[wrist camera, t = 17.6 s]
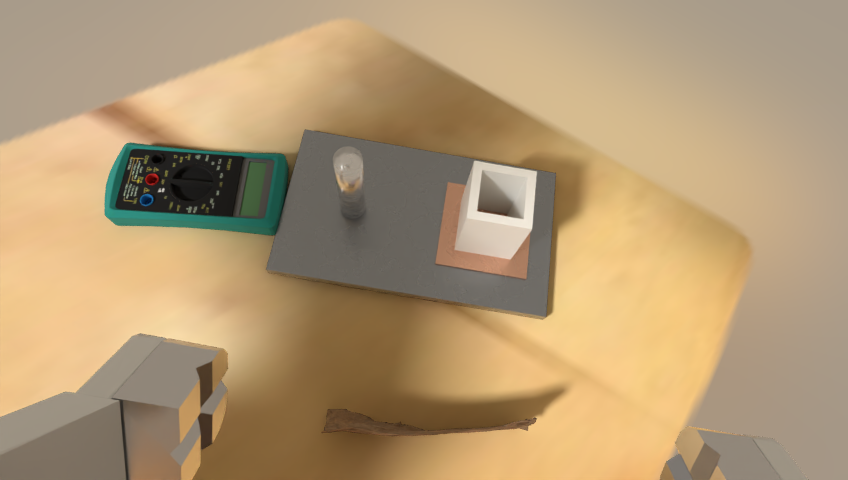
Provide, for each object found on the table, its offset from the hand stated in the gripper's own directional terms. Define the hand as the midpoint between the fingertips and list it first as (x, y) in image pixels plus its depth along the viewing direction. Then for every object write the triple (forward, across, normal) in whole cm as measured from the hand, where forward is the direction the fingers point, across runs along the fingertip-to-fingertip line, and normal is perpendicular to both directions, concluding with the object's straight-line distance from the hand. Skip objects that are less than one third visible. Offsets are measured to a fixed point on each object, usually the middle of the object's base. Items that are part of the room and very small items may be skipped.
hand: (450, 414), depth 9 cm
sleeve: (+36, -5, +10) cm, 38 cm away
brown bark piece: (+26, -2, +24) cm, 35 cm away
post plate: (+37, +1, +11) cm, 39 cm away
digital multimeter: (+37, +20, +12) cm, 44 cm away
